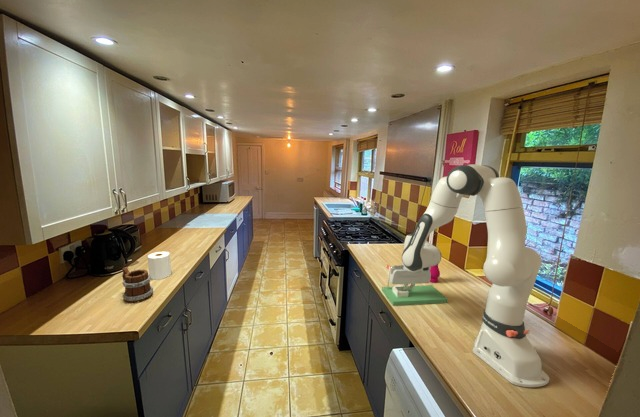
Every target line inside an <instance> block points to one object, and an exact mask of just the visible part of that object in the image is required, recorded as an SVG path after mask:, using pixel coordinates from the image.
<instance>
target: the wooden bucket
mask: <svg viewBox="0 0 640 417" xmlns="http://www.w3.org/2000/svg"><path fill="white" fill-rule="evenodd" d="M121 270H122V286H123V287H124V292H123V294H122V297H123V300H124V301H125V302H126V303H133V304H134V303H139V302H140V303H141V302H143V301H145V300H147V299H150V297H151V296H152V295H153V293H154V287H152V286H151V280H152V279H151V278H150V276H149V270H147V269H134V270H131V271H130V270H129V269H128V268H127V267H122V268H121Z"/></svg>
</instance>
